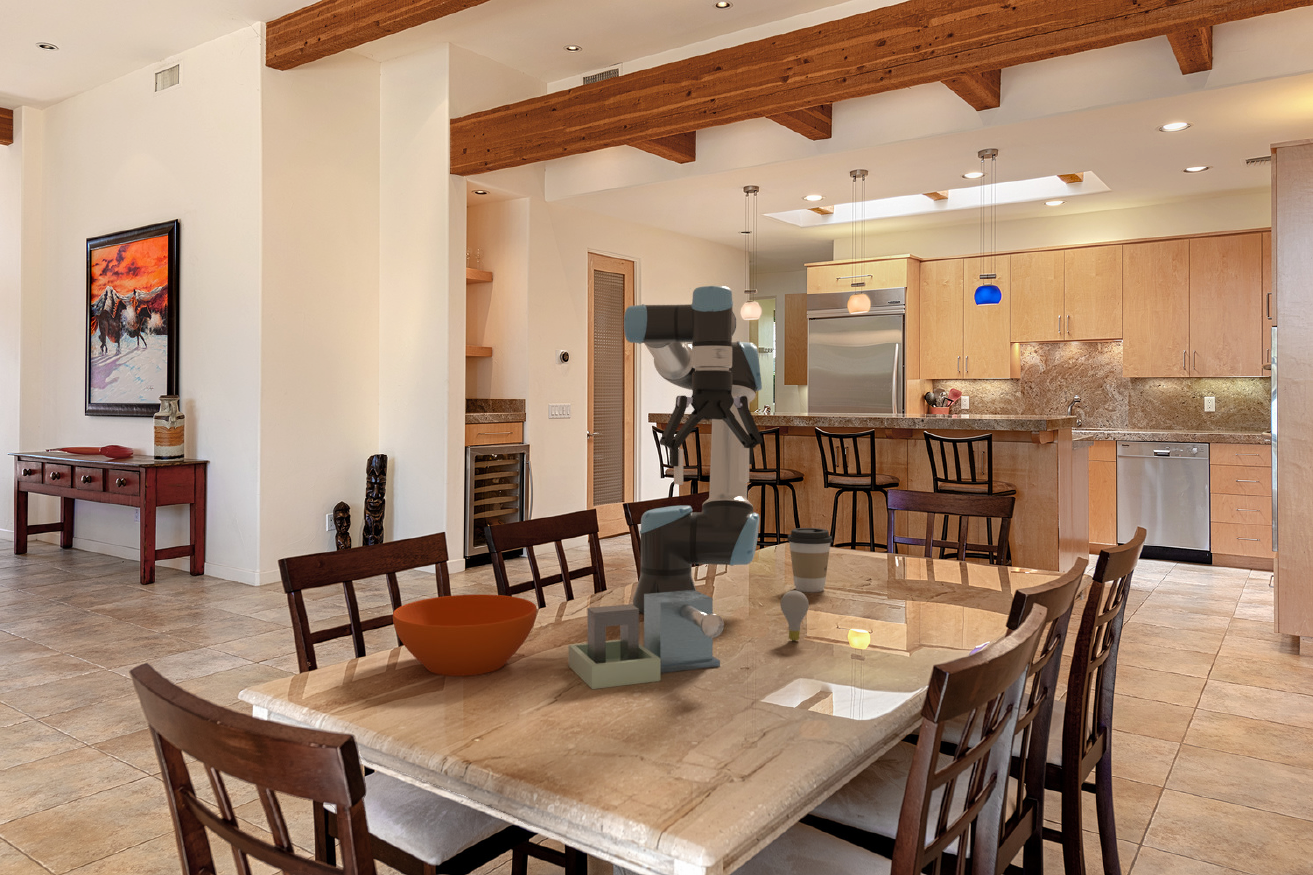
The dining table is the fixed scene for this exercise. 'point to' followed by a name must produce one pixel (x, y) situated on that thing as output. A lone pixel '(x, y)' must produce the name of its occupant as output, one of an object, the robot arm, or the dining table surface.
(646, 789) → the dining table surface
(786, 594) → the light bulb
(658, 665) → the tray
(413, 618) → the bowl
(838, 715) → the dining table surface
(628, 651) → the grey u-shaped block
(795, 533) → the coffee cup
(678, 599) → the blue knob box
